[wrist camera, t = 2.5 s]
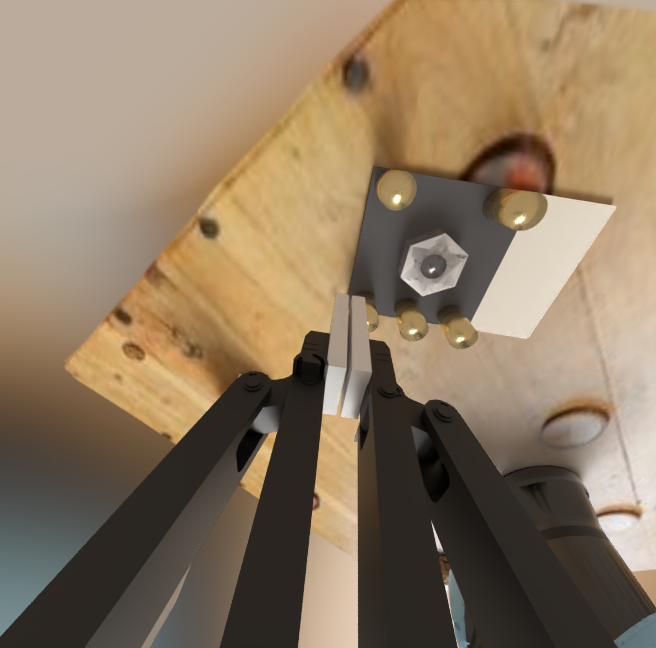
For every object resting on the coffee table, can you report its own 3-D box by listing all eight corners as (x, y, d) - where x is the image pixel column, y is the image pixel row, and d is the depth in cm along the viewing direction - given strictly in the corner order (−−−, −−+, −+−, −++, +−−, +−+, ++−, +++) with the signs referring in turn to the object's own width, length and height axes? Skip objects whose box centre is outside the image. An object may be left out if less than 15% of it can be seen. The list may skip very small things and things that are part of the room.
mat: (611, 205, 26) (617, 206, 25) (525, 336, 34) (527, 339, 34) (374, 166, 26) (374, 166, 25) (345, 307, 34) (345, 309, 34)
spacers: (521, 190, 25) (555, 195, 21) (455, 327, 34) (470, 350, 29) (379, 167, 25) (385, 167, 21) (349, 310, 34) (349, 330, 29)
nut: (455, 221, 27) (464, 226, 25) (463, 273, 30) (472, 281, 28) (390, 245, 29) (393, 252, 27) (403, 291, 32) (407, 301, 29)
